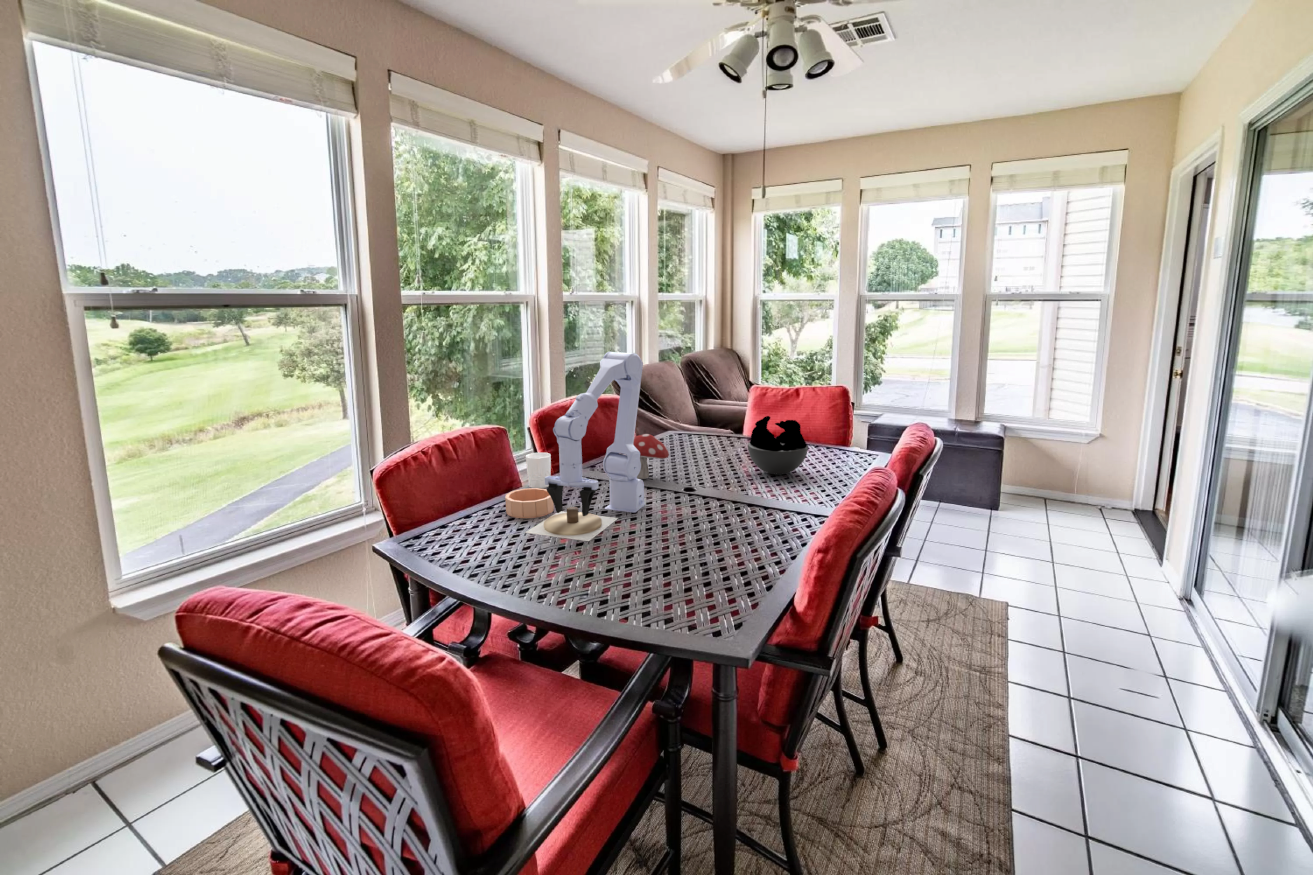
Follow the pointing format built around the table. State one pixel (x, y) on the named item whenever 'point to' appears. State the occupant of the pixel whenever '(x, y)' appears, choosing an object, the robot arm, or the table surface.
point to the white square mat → (584, 537)
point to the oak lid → (572, 523)
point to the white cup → (538, 469)
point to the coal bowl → (777, 447)
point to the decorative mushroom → (649, 452)
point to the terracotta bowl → (529, 503)
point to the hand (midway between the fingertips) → (572, 513)
